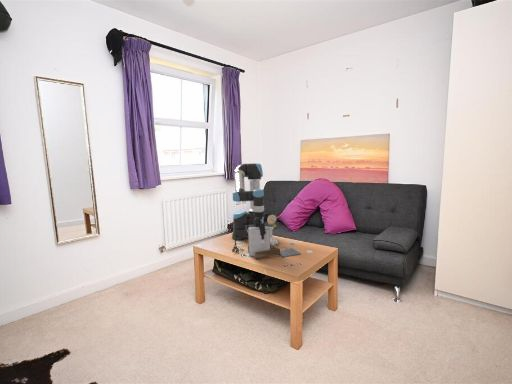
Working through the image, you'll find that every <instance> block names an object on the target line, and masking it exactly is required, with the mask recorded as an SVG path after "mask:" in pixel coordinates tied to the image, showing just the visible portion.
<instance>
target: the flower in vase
mask: <svg viewBox="0 0 512 384" xmlns="http://www.w3.org/2000/svg"><path fill="white" fill-rule="evenodd" d="M266 219H267V220H266V221H267V224H268V225H269V227H270V242H271V243H272V244H274V245H275V246H276V245H278V243H279V242H278V240H277V239H276V238H275V237H274V236H273V229H274V228H277V227H278V226H277V224H276V222H277V216H276V214H275V215H274V214H270V215H268V216H267V218H266Z"/></svg>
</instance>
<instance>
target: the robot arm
mask: <svg viewBox="0 0 512 384" xmlns="http://www.w3.org/2000/svg"><path fill="white" fill-rule="evenodd" d="M233 177H234V191H232V201H233V202H250V206H249V207H250V208H249V210H248V212H247V211H246V210H237V211H235V212H234V213H233V214H232V221H233V223H232V224H233V230H232V233H231V239H233V240H235V238H236V241H242V240H243V241H245V240H248V228H247V227H259V228H260V233H261V234H260V244H264V235H265V234H266V233H265V227H266V225H265V220H264V219H265V193H264V192H265V191H264V189H261V188H260V181H261V180H262V178H263V177H264V173H263V168H262V164H261V163H242V164H239V165H237V166H236V168H235V169H234V171H233ZM245 178H247V181H248V182H249V190H246V187H245ZM235 236H236V237H235Z"/></svg>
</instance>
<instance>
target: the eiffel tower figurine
mask: <svg viewBox="0 0 512 384" xmlns="http://www.w3.org/2000/svg"><path fill="white" fill-rule="evenodd" d="M235 237H236V236H235ZM237 247H238V248H237ZM239 248H240V249H239ZM235 250H236V251H238V252H239V251H242V252H244V251H246V249H244V248H242V247H239V246H238V245H237V240H236V238H235V239H234V245H233V247H232V249H231V252H232V253H235V252H234V251H235ZM238 252H237V253H238ZM242 252H241V253H242Z"/></svg>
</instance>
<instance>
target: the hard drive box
mask: <svg viewBox="0 0 512 384" xmlns="http://www.w3.org/2000/svg"><path fill="white" fill-rule="evenodd" d="M270 227H271V226H265V233H266V234H265V235H264V244H260V234H261V233H260V228H259V227H254V226H248V228H247V231H248V239H247V241H248V246H249V253H248V257H255V252H260V251H266V250H270Z"/></svg>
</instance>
